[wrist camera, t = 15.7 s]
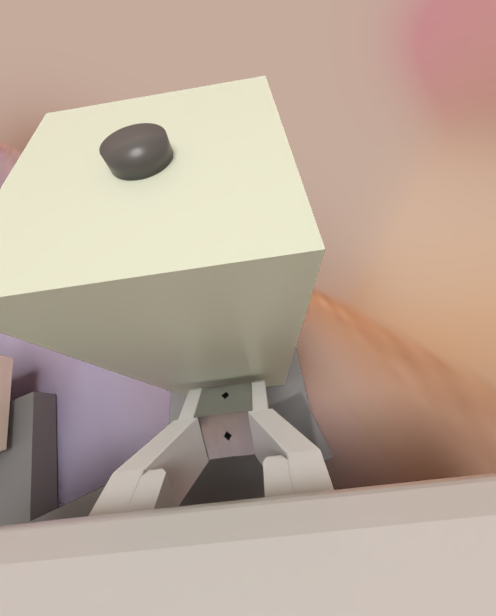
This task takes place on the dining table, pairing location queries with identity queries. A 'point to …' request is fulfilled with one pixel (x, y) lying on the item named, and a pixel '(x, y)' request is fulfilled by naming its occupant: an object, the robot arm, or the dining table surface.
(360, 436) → the dining table surface
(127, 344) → the key one dot
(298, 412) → the grey flat piece
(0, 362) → the key two dots
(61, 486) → the dining table surface
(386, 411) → the dining table surface
